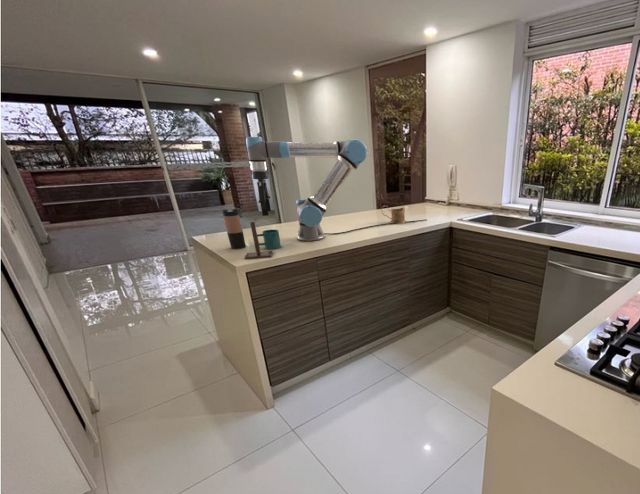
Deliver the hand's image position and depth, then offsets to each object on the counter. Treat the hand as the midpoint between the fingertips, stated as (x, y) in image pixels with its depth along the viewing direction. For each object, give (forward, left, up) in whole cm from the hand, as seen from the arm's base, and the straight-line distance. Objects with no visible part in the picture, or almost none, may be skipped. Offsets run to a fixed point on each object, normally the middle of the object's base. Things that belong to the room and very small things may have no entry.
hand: (267, 213), depth 179 cm
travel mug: (+18, -6, -19) cm, 27 cm away
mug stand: (+5, +12, -19) cm, 23 cm away
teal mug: (+2, 0, -18) cm, 19 cm away
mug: (-80, -46, -19) cm, 94 cm away
